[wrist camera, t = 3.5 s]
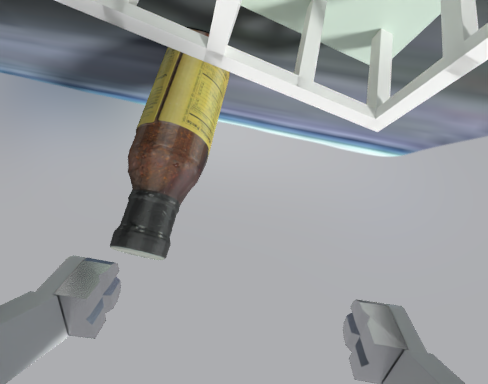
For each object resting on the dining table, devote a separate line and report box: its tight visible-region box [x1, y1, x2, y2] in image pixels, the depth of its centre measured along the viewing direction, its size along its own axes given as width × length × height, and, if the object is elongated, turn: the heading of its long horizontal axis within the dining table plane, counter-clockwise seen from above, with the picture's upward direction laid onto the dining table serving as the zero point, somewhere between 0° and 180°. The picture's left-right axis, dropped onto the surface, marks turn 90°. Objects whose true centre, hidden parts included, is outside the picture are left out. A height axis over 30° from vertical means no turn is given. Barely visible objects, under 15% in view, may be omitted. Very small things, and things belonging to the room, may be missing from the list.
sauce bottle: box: [110, 29, 229, 260], centre depth 24 cm, size 6×6×20 cm
